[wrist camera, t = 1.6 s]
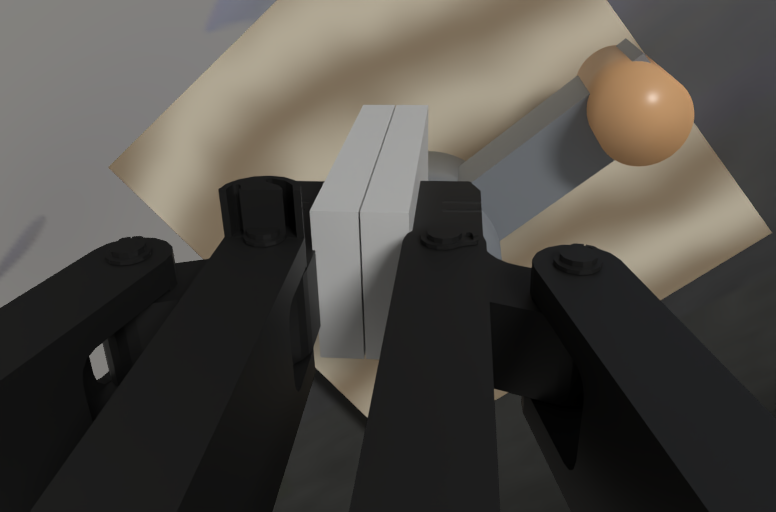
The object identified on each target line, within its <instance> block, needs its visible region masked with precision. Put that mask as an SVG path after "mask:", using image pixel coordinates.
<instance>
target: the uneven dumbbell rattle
mask: <svg viewBox="0 0 776 512" xmlns="http://www.w3.org/2000/svg"><path fill="white" fill-rule="evenodd" d="M693 122H694V106H693V102H692V99H691V97H690V95H689V93H688V91H687V90H686V89H685V88H684V86H683V85H681V84H680V83H679V82H678V81H677V80H676V79H674V78H673V77H672V76H671V75H670V74H668V73H667V72H666V71H665V70H664V69H662V68H661V67H660V66H659V65H658V64H656V63H655V62H654V61H653V60H652V59H650V58H649V57H648V56H647V55H646V54H644V53H643V52H642V51H641V50H640V49H638V48H637V47H636V46H635V45H634V44H632V43H631V42H630V41H629V40H628V39H626V38H625V39H624V40H623V41H622V42H620V43H619V44H618V45H611V46H607V47H604V48H602V49H600V50H598V51H596V52H595V53H593V54H592V55H591V56H589V57H588V58H587V59H586V60H585V61H584V63H583V64H582V66H581V67H580V69H579V71H578V73H577V75H576V77H575V78H573V79H572V80H571V81H570V82H568V83H567V84H566V85H564V86H563V87H562V88H560V89H559V90H558V91H557V92H555V93H554V94H553V95H551V96H550V97H549V98H547V99H546V100H545V101H543V102H542V103H541V104H540V105H538V106H537V107H536V108H534V109H533V110H532V111H530V112H529V113H528V114H527V115H525V116H524V117H523V118H521V119H520V120H519V121H517V122H516V123H515V124H514V125H512V126H511V127H510V128H508V129H507V130H506V131H504V132H503V133H502V134H501V135H499V136H498V137H497V138H495V139H494V140H493V141H491V142H490V143H489V144H488V145H486V146H485V147H484V148H482V149H481V150H480V151H478V152H477V153H476V154H475V155H473V156H472V157H471V158H469V159H468V160H467V161H465V160H463V159H461V158H459V157H456V156H454V155H451V154H447V153H443V152H437V151H428V181H470V182H471V183H472V184H473V185H474V186H476V187H477V188H478V189H479V190H480V191H481V207H482V225H483V236H484V238H485V240H486V243H487V251H488V252H489V253H490V254H491V255H493V256H494V257H496V258H497V259H500V260H502V257H501V247H500V241H501V240H502V239H503V238H505V237H506V236H508V235H509V234H511V233H512V232H513V231H515V230H516V229H518V228H519V227H521V226H522V225H523V224H525V223H526V222H528V221H529V220H531V219H532V218H533V217H535V216H536V215H538V214H539V213H540V212H542V211H543V210H545V209H546V208H548V207H549V206H550V205H552V204H553V203H555V202H556V201H558V200H559V199H560V198H562V197H563V196H565V195H566V194H568V193H569V192H570V191H572V190H573V189H575V188H576V187H577V186H579V185H580V184H582V183H583V182H585V181H586V180H587V179H589V178H590V177H592V176H593V175H595V174H596V173H597V172H599V171H600V170H602V169H603V168H605V167H606V166H607V165H609V164H610V163H612V162H613V161H614V160H615V161H617V162H619V163H622V164H625V165H629V166H648V165H653V164H656V163H659V162H661V161H663V160H665V159H667V158H669V157H670V156H672V155H673V154H674V153H675V152H677V151H678V150H679V149H680V148H681V146H682V145H683V144H684V143H685V141H686V140H687V138H688V136H689V134H690V132H691V129H692V126H693Z"/></svg>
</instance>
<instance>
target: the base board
mask: <svg viewBox="0 0 776 512" xmlns="http://www.w3.org/2000/svg"><path fill="white" fill-rule="evenodd" d="M625 38H626V39H628V40H629V41H630V42H631V43H632V44H634V45H635V46H636V47H637V48H638V49H640V50H641V51H642V49H641V48H640V47H639V45H638V44H637V42H636V41H635V40H634V38H633V37H632V35H631V34H630V32H629V31H628V30H627V28H626V27H625V25H624V24H623V23H622V21H621V20H620V18H619V17H618V16H617V14H616V13H615V11H614V10H613V9H612V7H611V6H610V4H609V3H608V2H607V0H277V1H276V2H275V3H274V4H273V5H272V6H271V7H270V8H269V9H268V10H267V11H266V12H265V13H264V14H263V15H262V16H261V17H260V18H259V19H258V20H257V21H256V22H255V23H254V24H253V25H252V26H251V27H250V28H249V29H248V30H247V31H246V32H245V33H244V34H243V35H242V36H241V37H240V38H239V39H238V40H236V41H235V43H234V44H232V46H230V47H229V48H228V49H227V51H225V53H223V54H222V55H221V56H220V57H219V58H218V59H217V60H216V61H215V62H214V63H213V64H212V65H211V66H210V67H209V68H208V69H207V70H206V71H205V72H204V73H203V74H202V75H201V76H200V77H199V78H198V79H197V80H196V81H195V82H194V83H193V84H192V85H191V86H190V87H189V88H188V89H187V90H186V91H185V92H184V93H183V94H182V95H181V96H180V97H179V98H178V99H177V100H176V101H175V102H174V103H173V104H172V105H171V106H170V107H169V108H168V109H167V110H166V111H165V112H164V113H163V114H162V115H161V116H160V117H159V118H158V119H157V120H156V121H155V122H154V123H153V124H152V125H151V126H150V127H149V128H148V129H147V130H145V131H144V132H143V134H141V135H140V136H139V137H138V138H137V140H136V141H134V143H132V144H131V145H130V147H128V148H127V149H126V150H125V151H124V152H123V153H122V154H121V155H120V156H119V157H118V158H117V159H116V160H115V161H114V162H113V163H112V164H111V165H110V166H109V169H111V170H112V171H113V172H114V173H115V174H116V175H117V176H118V177H119V178H120V179H121V180H122V181H123V182H124V183H125V184H126V185H127V186H128V187H129V188H130V189H131V190H132V191H134V193H135V194H136V195H137V196H138V197H140V198H141V199H142V200H143V201H144V202H145V203H146V204H147V205H148V206H149V207H150V208H151V209H152V210H153V211H154V212H155V213H156V214H157V215H158V216H159V217H160V218H161V219H162V220H163V221H164V222H165V223H167V225H168V226H170V227H171V228H172V229H173V230H174V231H175V232H176V233H177V234H178V235H179V236H180V237H181V238H182V239H183V240H184V241H185V242H186V243H187V244H188V245H189V246H190V247H191V248H192V249H193V250H194V251H195V252H196V253H198V255H200V256H201V257H202V258H203V259H209V258H210V257H211V255H212V254H213V252H214V251H215V250H216V248H217V247H218V245H219V244H220V243H221V241H222V240H223V238H224V229H223V222H222V214H221V207H220V199H219V192H218V189H219V188H221V187H222V186H224V185H225V184H227V183H230V182H232V181H235V180H238V179H243V178H248V177H253V176H280V177H286V178H289V179H293V180H295V181H325V180H326V178H327V176H328V174H329V172H330V170H331V168H332V166H333V164H334V162H335V160H336V158H337V156H338V154H339V152H340V150H341V148H342V146H343V144H344V142H345V140H346V138H347V136H348V134H349V132H350V130H351V128H352V126H353V124H354V122H355V120H356V118H357V116H358V114H359V112H360V110H361V108H362V106H363V105H395V108H396V105H428V151H437V152H443V153H447V154H451V155H454V156H456V157H459V158H461V159H463V160H465V161H467V160H468V159H469V158H471V157H472V156H473V155H475V154H476V153H477V152H478V151H480V150H481V149H482V148H484V147H485V146H486V145H488V144H489V143H490V142H491V141H493V140H494V139H495V138H497V137H498V136H499V135H501V134H502V133H503V132H504V131H506V130H507V129H508V128H510V127H511V126H512V125H514V124H515V123H516V122H517V121H519V120H520V119H521V118H523V117H524V116H525V115H527V114H528V113H529V112H530V111H532V110H533V109H534V108H536V107H537V106H538V105H540V104H541V103H542V102H543V101H545V100H546V99H547V98H549V97H550V96H551V95H553V94H554V93H555V92H557V91H558V90H559V89H560V88H562V87H563V86H564V85H566V84H567V83H568V82H570V81H571V80H572V79H573V78H575V77H576V75H577V73H578V71H579V69H580V67H581V66H582V64H583V63H584V61H585V60H586V59H587V58H588V57H589V56H591V55H592V54H593V53H595V52H596V51H598V50H600V49H602V48H604V47H607V46H611V45H618V44H619V43H620V42H622V41H623V40H624V39H625ZM642 52H643V51H642ZM643 53H644V52H643ZM771 233H772V232H771V231H770V229H769V228H768V226H767V225H766V224H765V222H764V221H763V219H762V218H761V217H760V215H759V214H758V212H757V211H756V210H755V208H754V207H753V205H752V204H751V203H750V201H749V200H748V198H747V197H746V195H745V194H744V193H743V191H742V190H741V188H740V187H739V186H738V184H737V183H736V181H735V180H734V179H733V177H732V176H731V174H730V173H729V172H728V170H727V169H726V167H725V166H724V165H723V163H722V162H721V160H720V159H719V158H718V156H717V155H716V153H715V152H714V151H713V149H712V148H711V146H710V145H709V143H708V142H707V141H706V139H705V138H704V136H703V135H702V134H701V132H700V131H699V129H698V128H697V127H696V125H695V124H694V122H693V126H692V129H691V132H690V134H689V136H688V138H687V140H686V141H685V143H684V144H683V145H682V146H681V148H680V149H679V150H678V151H677V152H675V153H674V154H673V155H672V156H670V157H669V158H667V159H665V160H663V161H661V162H659V163H656V164H653V165H648V166H629V165H625V164H622V163H619V162H617V161H615V160H614V161H613V162H612V163H610V164H609V165H607V166H606V167H605V168H603V169H602V170H600V171H599V172H597V173H596V174H595V175H593V176H592V177H590V178H589V179H587V180H586V181H585V182H583V183H582V184H580V185H579V186H577V187H576V188H575V189H573V190H572V191H570V192H569V193H568V194H566V195H565V196H563V197H562V198H560V199H559V200H558V201H556V202H555V203H553V204H552V205H550V206H549V207H548V208H546V209H545V210H543V211H542V212H540V213H539V214H538V215H536V216H535V217H533V218H532V219H531V220H529V221H528V222H526V223H525V224H523V225H522V226H521V227H519V228H518V229H516V230H515V231H513V232H512V233H511V234H509V235H508V236H506V237H505V238H503V239H502V240H501V241H500V247H501V257H502V261H505V262H507V263H511V264H515V265H519V266H524V267H529V268H532V259H533V257H534V256H535V254H536V253H537V252H539V251H541V250H543V249H545V248H547V247H552V246H557V245H571V244H574V243H578V244H584V246H586V244H587V245H591V246H595V247H597V248H598V249H601V250H604V251H607V252H609V253H611V254H613V255H614V256H616V257H617V258H619V259H620V260H621V261H622V262H623V263H624V264H625V265H626V266H627V267H628V268H629V269H630V270H631V271H632V272H633V273H634V274H635V275H636V276H637V277H638V278H639V279H640V280H641V281H642V282H643V283H644V284H645V285H646V286H647V287H648V288H649V289H650V290H651V291H652V292H653V293H654V294H655V296H656V297H657V298H658V299H659V300H662V299H663V298H665V297H667V296H668V295H670V294H671V293H673V292H675V291H676V290H678V289H680V288H681V287H683V286H685V285H686V284H688V283H690V282H691V281H693V280H695V279H696V278H698V277H700V276H701V275H703V274H704V273H706V272H708V271H709V270H711V269H713V268H714V267H716V266H718V265H719V264H721V263H723V262H724V261H726V260H728V259H729V258H731V257H733V256H734V255H736V254H738V253H739V252H741V251H742V250H744V249H746V248H747V247H749V246H751V245H752V244H754V243H756V242H757V241H759V240H761V239H762V238H764V237H766V236H767V235H769V234H771ZM314 360H315V368H316V369H317V370H319V371H320V372H321V373H322V374H323V375H324V376H325V377H326V378H327V379H328V380H329V381H330V382H331V383H332V384H333V385H334V386H335V387H336V388H337V389H338V390H339V391H340V392H341V393H342V394H343V395H344V396H345V397H346V398H347V399H349V400H350V401H351V402H352V403H353V404H354V405H355V406H356V407H357V408H358V409H359V410H360V411H361V412H362V413H363V414H364V415H365V416H366V417H367V418H368V413H369V408H370V403H371V398H372V393H373V388H374V383H375V378H376V373H377V368H378V363H379V360H378V359H366V353H365V357H364V359H352V358H326V357H320V343H319V332H318V335H317V338H316V341H315V344H314ZM506 393H508V392H505V391H501V390H497V389H494V400H496V399H498V398H500V397H501V396H503V395H505V394H506Z"/></svg>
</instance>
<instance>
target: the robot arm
mask: <svg viewBox="0 0 776 512" xmlns="http://www.w3.org/2000/svg"><path fill="white" fill-rule="evenodd" d="M218 192H219V199H220V207H221V214H222V222H223V229H224V238H223V240H222V241H221V243H220V244H219V245H218V247H217V248H216V250H215V251H214V252H213V254H212V255H211V257H210V258H209V259H204V260H197V261H189V262H182V263H175V260H174V254H173V249H172V246H171V245H170V244H169V243H168V242H166V241H163V240H160V239H156V238H143V237H142V236H136V237H135V236H134V237H132V238H130V237H127V238H121V239H119V240H118V241H116V242H112V243H109V244H106V245H104V246H102V247H99V248H97V249H96V250H94V251H92V252H90V253H88V254H87V255H85V256H84V257H82V258H80V259H79V260H77V261H76V262H74V263H72V264H71V265H69V266H68V267H66V268H64V269H63V270H61V271H60V272H58V273H56V274H54V275H53V276H51V277H50V278H48V279H46V280H45V281H43V282H42V283H40V284H38V285H37V286H35V287H34V288H32V289H30V290H29V291H27V292H25V293H24V294H22V295H21V296H19V297H17V298H16V299H14V300H13V301H11V302H9V303H8V304H6V305H4V306H3V307H1V308H0V512H272V511H273V508H274V505H275V501H276V498H277V495H278V492H279V488H280V485H281V482H282V479H283V476H284V472H285V469H286V466H287V463H288V459H289V456H290V453H291V450H292V446H293V443H294V440H295V437H296V434H297V430H298V427H299V424H300V421H301V417H302V414H303V411H304V408H305V404H306V401H307V398H308V395H309V392H310V388H311V385H312V382H313V379H314V375H315V360H314V344H315V341H316V338H317V335H318V332H319V343H320V357H326V358H352V359H364V357H365V353H366V359H378V360H379V363H378V368H377V373H376V378H375V383H374V388H373V393H372V398H371V403H370V408H369V413H368V418H367V424H366V429H365V434H364V439H363V444H362V449H361V454H360V459H359V464H358V469H357V474H356V479H355V484H354V489H353V494H352V500H351V505H350V510H349V512H500V498H499V478H498V459H497V439H496V420H495V400H494V389H497V390H501V391H505V392H509V393H512V394H516V395H520V396H522V399H521V404H522V410H523V414H524V416H525V418H526V420H527V422H528V424H529V426H530V428H531V430H532V432H533V434H534V436H535V438H536V441H537V443H538V445H539V447H540V449H541V451H542V453H543V455H544V457H545V459H546V461H547V463H548V465H549V467H550V469H551V471H552V473H553V476H554V478H555V480H556V482H557V484H558V486H559V488H560V490H561V492H562V494H563V496H564V498H565V500H566V502H567V504H568V506H569V508H570V510H571V512H776V419H775V418H774V417H773V416H772V414H771V413H770V412H769V411H768V410H767V409H766V408H765V407H764V406H763V405H762V404H761V403H760V402H759V401H758V400H757V399H756V398H755V397H754V396H753V395H752V394H751V393H750V392H749V391H748V390H747V389H746V388H745V387H744V386H743V385H742V384H741V383H740V382H739V381H738V380H737V379H736V378H735V377H734V376H733V374H732V373H731V372H730V371H729V370H728V369H727V368H726V367H725V366H724V365H723V364H722V363H721V362H720V361H719V360H718V359H717V358H716V357H715V356H714V355H713V354H712V353H711V352H710V351H709V350H708V349H707V348H706V347H705V346H704V345H703V344H702V343H701V342H700V341H699V340H698V339H697V338H696V337H695V336H694V334H693V333H692V332H691V331H690V330H689V329H688V328H687V327H686V326H685V325H684V324H683V323H682V322H681V321H680V320H679V319H678V318H677V317H676V316H675V315H674V314H673V313H672V312H671V311H670V310H669V309H668V308H667V307H666V306H665V305H664V304H663V303H662V302H661V301H660V300H659V299H658V298H657V297H656V296H655V294H654V293H653V292H652V291H651V290H650V289H649V288H648V287H647V286H646V285H645V284H644V283H643V282H642V281H641V280H640V279H639V278H638V277H637V276H636V275H635V274H634V273H633V272H632V271H631V270H630V269H629V268H628V267H627V266H626V265H625V264H624V263H623V262H622V261H621V260H620V259H619V258H617V257H616V256H614V255H613V254H611V253H609V252H607V251H604V250H601V249H598V248H597V247H595V246H591V245H587V244H586V246H584V244H578V243H574V244H571V245H557V246H552V247H547V248H545V249H543V250H541V251H539V252H537V253H536V254H535V256H534V257H533V259H532V268H529V267H524V266H519V265H515V264H511V263H507V262H505V261H502V260H500V259H497V258H496V257H494V256H493V255H491V254H490V253H489V252H488V251H487V243H486V240H485V238H484V236H483V225H482V207H481V191H480V190H479V189H478V188H477V187H476V186H474V185H473V184H472V183H471V182H470V181H428V105H396V108H395V105H363V106H362V108H361V110H360V112H359V114H358V116H357V118H356V120H355V122H354V124H353V126H352V128H351V130H350V132H349V134H348V136H347V138H346V140H345V142H344V144H343V146H342V148H341V150H340V152H339V154H338V156H337V158H336V160H335V162H334V164H333V166H332V168H331V170H330V172H329V174H328V176H327V178H326V180H325V181H295V180H293V179H289V178H286V177H280V176H253V177H248V178H243V179H238V180H235V181H232V182H230V183H227V184H225V185H224V186H222V187H221V188H219V189H218ZM101 343H103V347H104V351H105V355H106V360H107V364H108V368H109V372H108V373H106V374H105V375H104V376H103V377H102V378H100V379H98V380H96V378H95V376H94V374H93V371H92V367H91V362H90V358H89V355H90V354H91V353H92V352H93V350H94V349H95V348H96V347H97V346H99V345H100V344H101Z"/></svg>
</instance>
